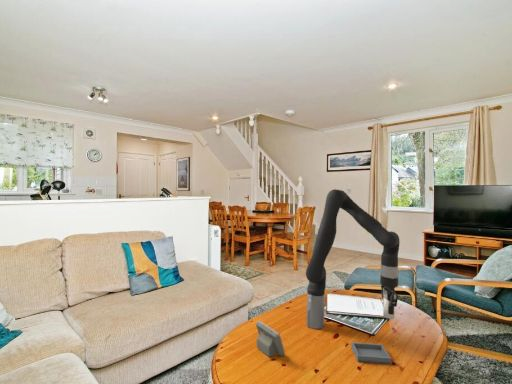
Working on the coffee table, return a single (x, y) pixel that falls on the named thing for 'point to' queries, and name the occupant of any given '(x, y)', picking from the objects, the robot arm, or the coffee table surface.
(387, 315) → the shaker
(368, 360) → the tray
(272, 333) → the digital clock
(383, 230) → the robot arm
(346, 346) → the coffee table surface
